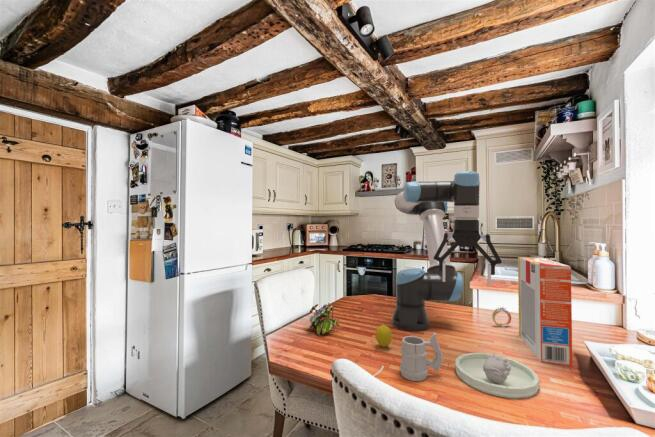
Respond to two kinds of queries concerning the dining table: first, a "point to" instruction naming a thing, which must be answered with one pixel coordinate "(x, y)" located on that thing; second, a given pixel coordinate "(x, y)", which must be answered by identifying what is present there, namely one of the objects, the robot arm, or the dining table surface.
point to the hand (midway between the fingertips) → (465, 282)
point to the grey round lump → (497, 368)
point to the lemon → (383, 335)
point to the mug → (418, 357)
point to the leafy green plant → (327, 322)
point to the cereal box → (545, 309)
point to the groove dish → (515, 386)
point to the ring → (498, 312)
